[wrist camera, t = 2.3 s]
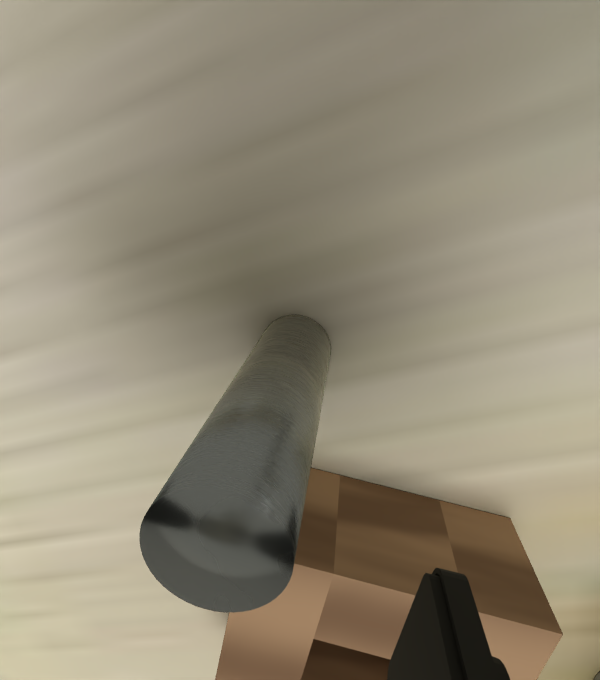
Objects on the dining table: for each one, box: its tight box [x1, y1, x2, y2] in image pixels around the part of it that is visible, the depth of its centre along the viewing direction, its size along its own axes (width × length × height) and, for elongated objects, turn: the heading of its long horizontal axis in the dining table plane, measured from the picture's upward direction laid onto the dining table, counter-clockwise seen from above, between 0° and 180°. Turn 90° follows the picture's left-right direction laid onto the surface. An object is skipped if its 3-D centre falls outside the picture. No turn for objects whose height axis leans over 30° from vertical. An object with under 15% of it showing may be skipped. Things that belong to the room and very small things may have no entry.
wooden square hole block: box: [215, 468, 563, 680], centre depth 21 cm, size 12×12×6 cm
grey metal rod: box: [140, 315, 331, 613], centre depth 15 cm, size 3×3×12 cm
